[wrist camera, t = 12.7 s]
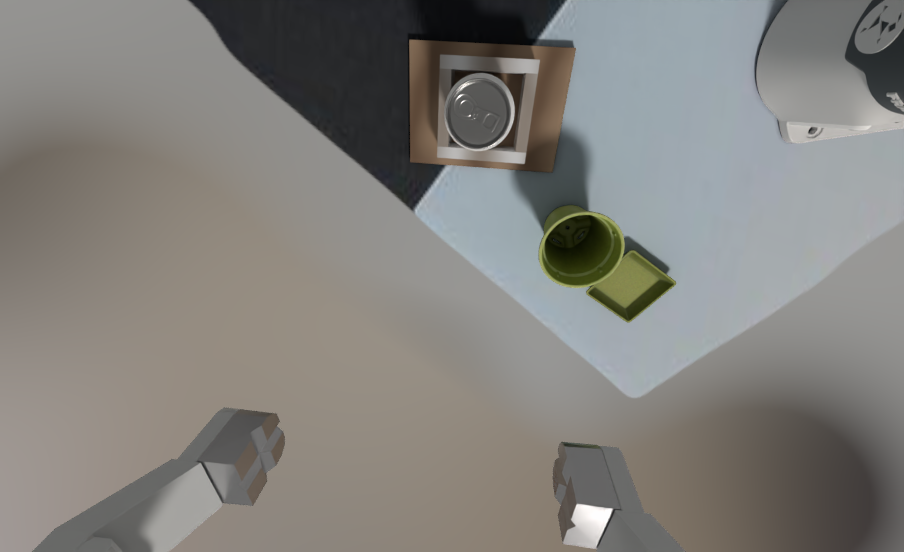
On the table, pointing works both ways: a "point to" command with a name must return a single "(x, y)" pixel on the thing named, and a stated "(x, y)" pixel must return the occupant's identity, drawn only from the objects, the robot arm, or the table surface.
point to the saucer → (631, 287)
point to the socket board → (528, 79)
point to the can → (479, 112)
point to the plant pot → (580, 247)
